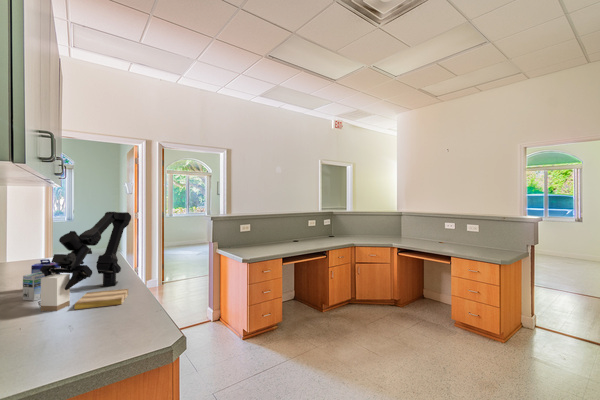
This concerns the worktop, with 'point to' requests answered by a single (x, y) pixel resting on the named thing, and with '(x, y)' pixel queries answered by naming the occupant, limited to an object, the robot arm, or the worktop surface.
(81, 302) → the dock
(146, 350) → the worktop surface
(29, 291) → the light bulb box
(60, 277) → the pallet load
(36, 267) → the ink cartridge box
